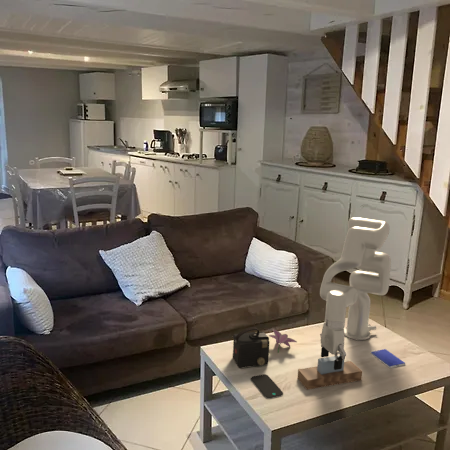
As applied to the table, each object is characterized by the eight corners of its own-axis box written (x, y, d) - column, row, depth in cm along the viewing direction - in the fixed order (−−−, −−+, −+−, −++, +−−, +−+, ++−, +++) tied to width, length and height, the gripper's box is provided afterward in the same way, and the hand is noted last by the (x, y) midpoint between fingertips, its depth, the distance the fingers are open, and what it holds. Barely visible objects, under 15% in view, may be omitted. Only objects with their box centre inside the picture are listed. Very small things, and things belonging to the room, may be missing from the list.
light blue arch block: (338, 375, 191) (340, 355, 188) (342, 379, 188) (344, 358, 186) (316, 379, 187) (318, 358, 185) (320, 383, 185) (322, 362, 183)
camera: (271, 366, 196) (273, 333, 192) (239, 370, 192) (240, 336, 189) (262, 353, 206) (263, 321, 203) (231, 357, 202) (232, 324, 199)
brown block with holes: (350, 369, 195) (350, 361, 194) (361, 380, 188) (362, 371, 187) (297, 378, 188) (298, 369, 187) (307, 389, 180) (307, 380, 179)
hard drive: (370, 351, 208) (390, 365, 197) (385, 348, 211) (405, 362, 200) (370, 354, 209) (389, 369, 198) (385, 351, 212) (405, 365, 201)
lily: (298, 356, 207) (301, 334, 209) (279, 352, 200) (282, 329, 203) (279, 353, 216) (282, 332, 219) (260, 349, 210) (263, 327, 212)
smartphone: (266, 398, 173) (249, 376, 187) (266, 400, 173) (249, 378, 187) (284, 394, 176) (266, 373, 190) (284, 396, 176) (266, 375, 190)
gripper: (314, 314, 189) (311, 353, 193) (338, 333, 173) (334, 375, 177) (331, 312, 191) (328, 350, 195) (356, 331, 175) (351, 372, 179)
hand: (331, 362), depth 186 cm, fingers open, 9 cm apart
